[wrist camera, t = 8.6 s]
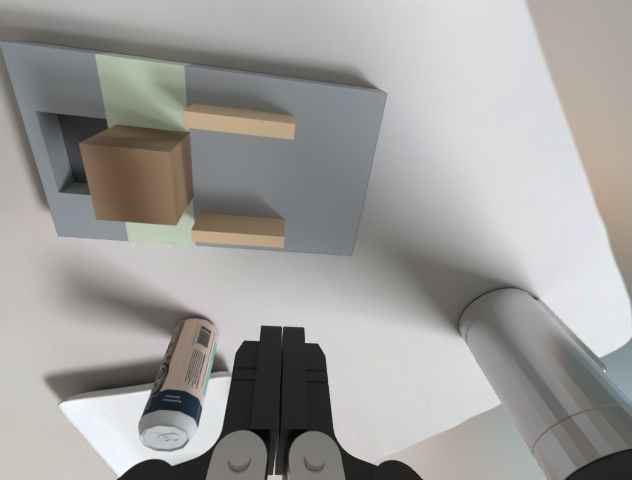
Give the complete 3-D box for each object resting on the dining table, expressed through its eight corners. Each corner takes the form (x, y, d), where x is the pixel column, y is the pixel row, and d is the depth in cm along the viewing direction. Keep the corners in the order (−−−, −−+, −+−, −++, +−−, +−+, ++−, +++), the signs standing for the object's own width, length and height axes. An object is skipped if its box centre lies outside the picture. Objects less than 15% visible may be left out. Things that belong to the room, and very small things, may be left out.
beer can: (170, 316, 36) (125, 426, 26) (214, 312, 36) (186, 419, 26) (181, 347, 39) (144, 457, 28) (223, 343, 39) (200, 451, 29)
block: (190, 132, 24) (169, 152, 20) (193, 196, 27) (176, 225, 22) (116, 124, 23) (78, 143, 19) (127, 190, 26) (96, 219, 22)
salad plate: (238, 353, 40) (235, 377, 37) (272, 444, 51) (271, 468, 48) (67, 379, 40) (49, 405, 37) (137, 464, 51) (128, 490, 48)
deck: (379, 89, 26) (399, 99, 21) (347, 241, 33) (357, 275, 28) (25, 41, 23) (-43, 40, 18) (74, 222, 30) (34, 256, 25)
